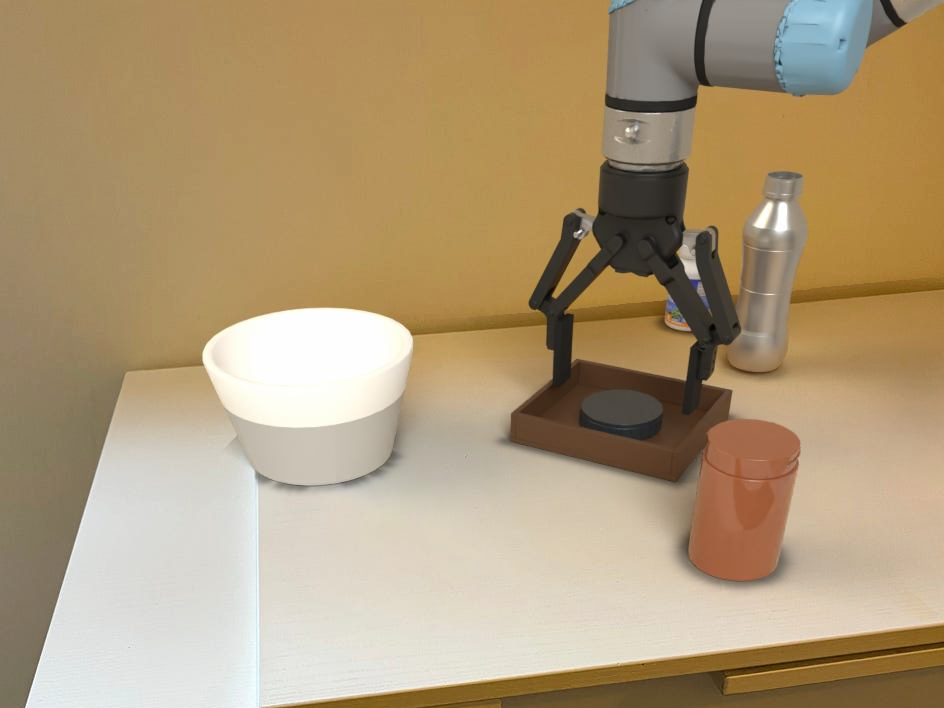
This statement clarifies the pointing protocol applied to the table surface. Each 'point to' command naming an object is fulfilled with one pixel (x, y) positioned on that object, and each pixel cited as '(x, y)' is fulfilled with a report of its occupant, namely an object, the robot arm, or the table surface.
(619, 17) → the robot arm
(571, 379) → the tray
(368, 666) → the table surface
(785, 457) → the jam jar
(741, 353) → the silver bottle
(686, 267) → the pill bottle
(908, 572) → the table surface
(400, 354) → the bowl
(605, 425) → the jar lid
